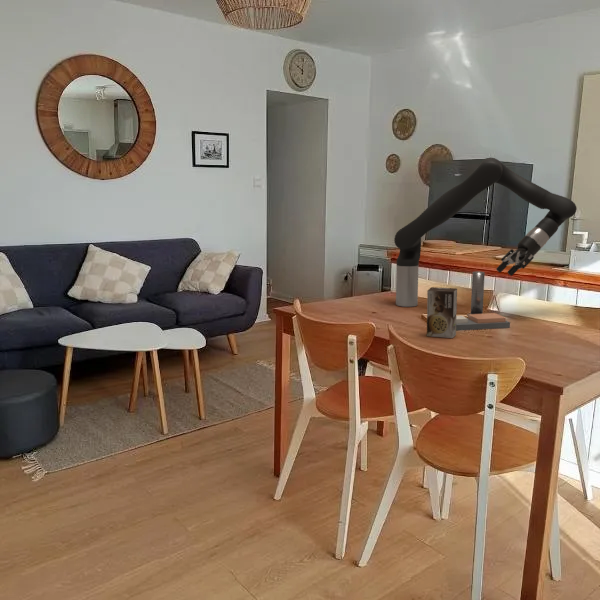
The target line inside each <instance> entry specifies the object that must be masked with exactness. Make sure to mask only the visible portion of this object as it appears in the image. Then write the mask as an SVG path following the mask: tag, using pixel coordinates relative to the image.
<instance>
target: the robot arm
mask: <svg viewBox="0 0 600 600" xmlns="http://www.w3.org/2000/svg"><path fill="white" fill-rule="evenodd" d="M494 184H498V185H501V186H503V187H504V188H506V189H509V190H510V191H511V192H512V193H514V194H516V195H517V196H518V197H520V198H521V199H523V200H524V201H526V202H527V203H529V204H531V205H533V206H534V207H536V208H537V209H540V210H548V212H547V213H546V215H544V217H543V218H542V219H541V220H540V221H539V222H538V223H537V224H536V225H535V226H534V227H533V228H532V229H530V230H529V231H528V233H526V234H525V236H523V237H522V238H521V240H519V242H518V243H517V248H516V250H514V249H513V248H511V249H510V250H509V251H508V252H507V253H506V254H505V255H504V256H503V257H502V258H500V260H501V263H500V264H499V265H498V266H497V267H496V268H495V269H496V271H497V272H498V273H502V272H503V271H504V270H505V269H506V268H507V266H509V265H511V264H512V266H511V267H510V268H509V269H508V271H507V272H506V273H507V274H508V275H509V276H510V277H512V276H513V275H515V274H516V272H518V270H521V269H525V268H526V267H527V266H528V265H529V264H530V263H531V261H533V259H534V258H535V257H534V256H535V255H536V254H537V253H538V252H540V250H541V249H542V248H543V247H544V246H545V245H546V244H547V243H548V241H549V240H551V238H552V237H553V236H554V235H555V233H556V232H557V231H558V229H559V228H560V226H562V225H563V223H564V222H566V220H568V219H571V218H572V217H574V215H576V212H577V205H576V204H575V202H574V201H573V200H572V199H570V198H568V197H565V196H562V195H560V194H556V193H553V192H551V191H549V190H547V189H545V188H543V187H541V186H540V185H538V184H536V183H534V182H532V181H530V180H528V179H526V178H524V177H522V176H520V175H519V174H517V173H515V172H514V171H513V170H511V169H510V168H509V167H507V166H506V165H505V164H503V163H502V162H501V161H499V159H497V158H495V157H487V158H484V159H483V160H481V161H480V163H479V164H478V166H477V168H476V169H475V170H474V171H473V172H472V173H471V174H470V175H469V176H468V177H467V178H466V179H464V180H463V181H462V182H460V183H459V184H458V185H455V186H453V187H452V188H450V189H449V190H447V191H446V192H444V193H443V194H441V195H440V196H439V197H438V198H437V199H436V200H435V201H433V202H432V203H431V204H430V205H429V206H428V207H427V208H426V209H424V211H423V212H421V214H419V215H418V216H417V217H415V218H414V220H412V221H411V222H409V223H407V224H406V225H405V226H403V227H401V229H399V230H397V232H396V233H395V235H394V245H395V246H396V247H397V248H398V249H399V254H398V257H397V259H396V271H395V272H396V278H395V279H396V280H395V281H396V284H395V285H396V286H395V305H396V306H398V307H403V308H405V307H407V308H409V307H410V308H412V307H416V306H418V303H419V302H418V300H419V298H418V297H419V265H420V259H421V249H422V237H423V236H425V235H426V234H427V233H428V232H431V230H433V229H435V228H437V227H439V226H441V225H442V224H444V223H446V222H447V221H448V220H449V219H451V218H452V217H454V216H455V215H457V213H459V212H460V211H461V210H463V208H464V207H466V206H467V204H469V203H470V201H472V200H473V199H474V198H475V197H477V195H479V194H480V193H481V192H483V191H485V190H487V189H488V188H489V187H491V186H492V185H494Z"/></svg>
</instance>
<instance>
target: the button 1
mask: <svg viewBox="0 0 600 600" xmlns="http://www.w3.org/2000/svg"><path fill="white" fill-rule="evenodd" d="M457 323H468V319H467V317H465V316H463V315H456V324H457Z"/></svg>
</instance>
